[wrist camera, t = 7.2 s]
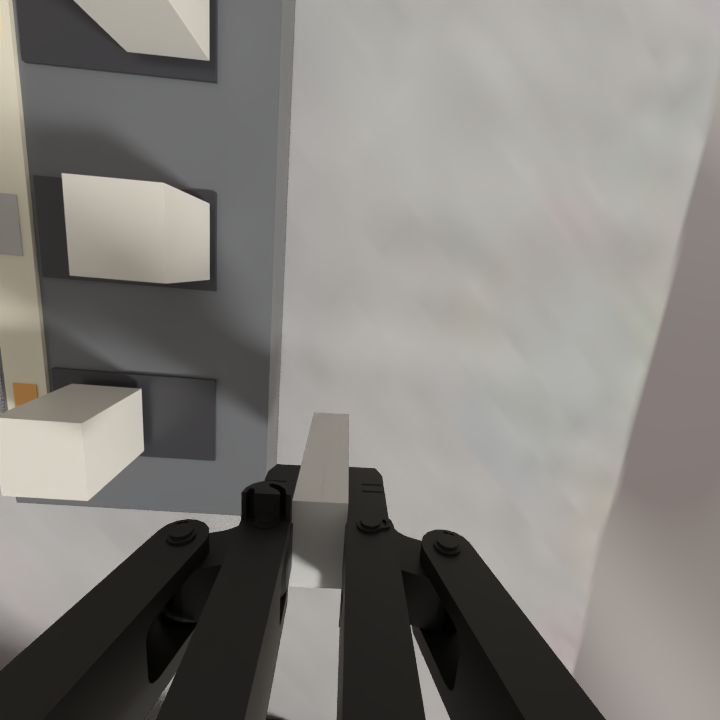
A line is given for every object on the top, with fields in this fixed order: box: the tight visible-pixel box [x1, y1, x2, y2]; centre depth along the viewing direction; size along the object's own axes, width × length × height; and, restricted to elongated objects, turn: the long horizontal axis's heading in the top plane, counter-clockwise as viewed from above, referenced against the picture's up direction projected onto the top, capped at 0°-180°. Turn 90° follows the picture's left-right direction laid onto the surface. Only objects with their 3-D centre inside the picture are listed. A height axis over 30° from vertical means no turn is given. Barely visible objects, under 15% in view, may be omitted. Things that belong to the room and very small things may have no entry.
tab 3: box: [0, 384, 144, 501], centre depth 16 cm, size 3×3×4 cm
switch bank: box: [0, 0, 295, 516], centre depth 18 cm, size 26×12×3 cm, turn 175°
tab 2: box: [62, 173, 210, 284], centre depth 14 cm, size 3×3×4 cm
